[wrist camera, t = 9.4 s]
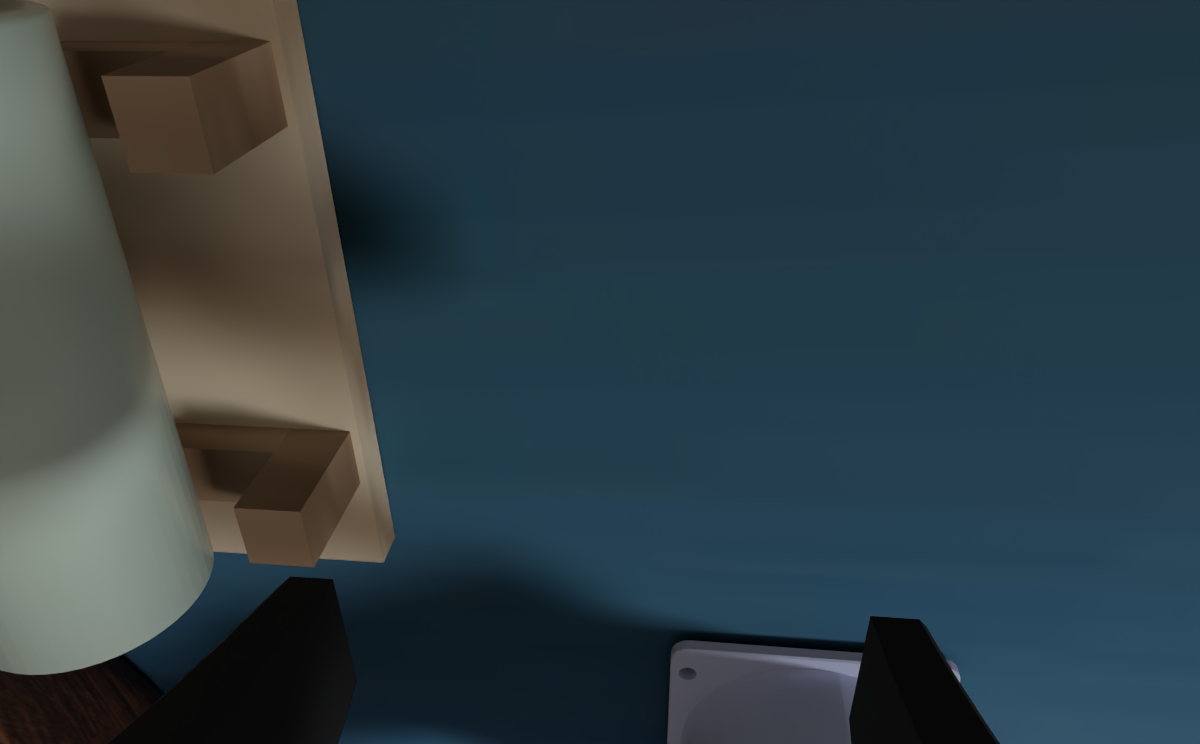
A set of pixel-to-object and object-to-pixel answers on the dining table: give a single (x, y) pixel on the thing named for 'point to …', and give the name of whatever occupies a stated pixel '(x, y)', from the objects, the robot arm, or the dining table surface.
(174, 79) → the bottle rest
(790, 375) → the dining table surface
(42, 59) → the bottle
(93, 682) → the wooden bowl
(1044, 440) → the dining table surface
